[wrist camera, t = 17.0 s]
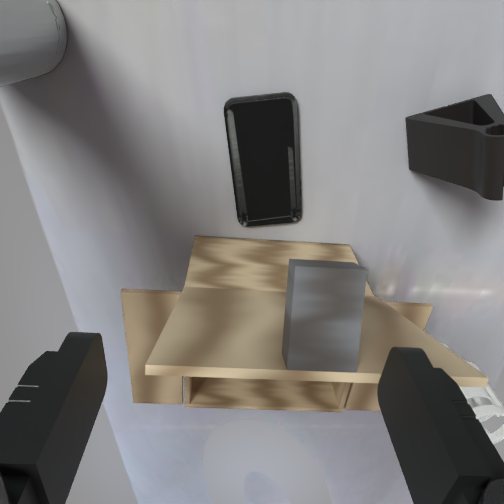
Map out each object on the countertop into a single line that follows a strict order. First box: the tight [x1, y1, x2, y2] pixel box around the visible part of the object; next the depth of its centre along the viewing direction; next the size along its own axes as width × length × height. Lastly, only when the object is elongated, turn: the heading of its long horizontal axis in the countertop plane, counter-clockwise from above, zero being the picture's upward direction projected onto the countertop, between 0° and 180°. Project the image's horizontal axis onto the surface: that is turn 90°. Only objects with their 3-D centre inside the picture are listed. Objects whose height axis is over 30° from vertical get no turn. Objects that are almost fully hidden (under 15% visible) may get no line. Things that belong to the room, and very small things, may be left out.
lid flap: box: [145, 259, 489, 387], centre depth 31 cm, size 20×18×7 cm
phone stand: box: [406, 94, 504, 200], centre depth 39 cm, size 9×6×12 cm, turn 105°
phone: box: [224, 92, 301, 226], centre depth 45 cm, size 8×1×15 cm
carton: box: [121, 236, 433, 412], centre depth 50 cm, size 33×18×12 cm, turn 85°
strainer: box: [441, 343, 504, 444], centre depth 55 cm, size 7×7×15 cm
